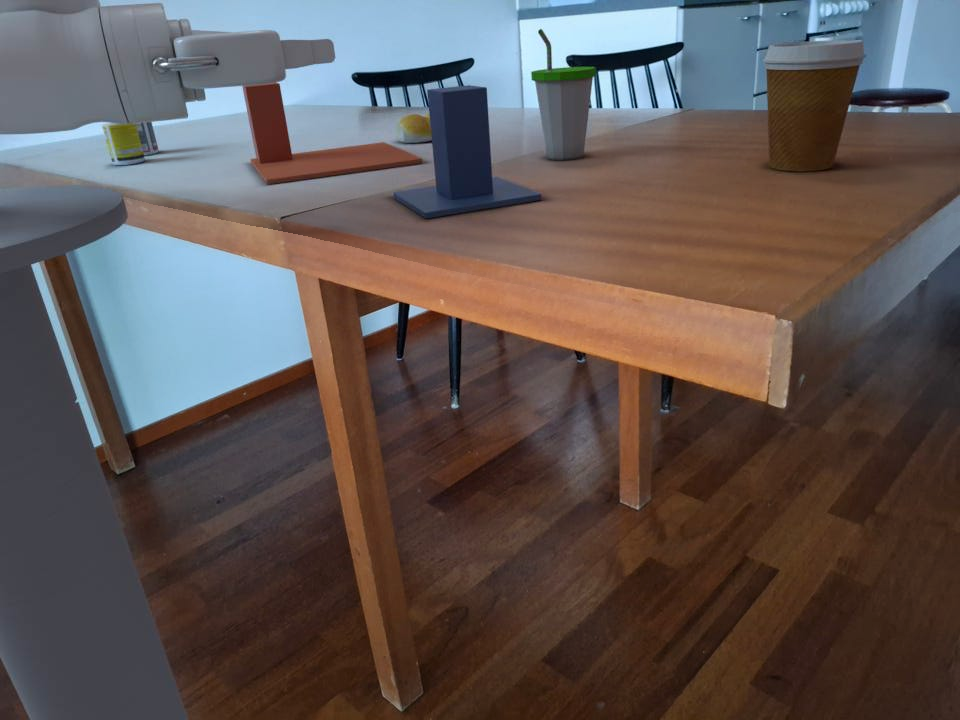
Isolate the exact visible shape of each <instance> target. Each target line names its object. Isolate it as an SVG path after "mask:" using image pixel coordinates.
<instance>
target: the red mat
mask: <svg viewBox="0 0 960 720" xmlns="http://www.w3.org/2000/svg"><path fill="white" fill-rule="evenodd" d="M292 157H293V160H286V161H278V162H270V163H262V164H260V163H259V162H258V160H257V159H256V157H255V158H250V163H251V165H252V166H253V168H254V169H255V170H256V171H257V173H258V174H259V175H260V177H261V178H262V180H263V181H264V182H265V183H266V185H274V184H281V183H289V182H296V181H304V180H310V179H317V178H318V179H319V178H325V177H334V176H341V175H346V174H347V175H348V174H353V173H363V172H367V171H368V172H369V171H374V170H375V171H376V170H385V169H391V168H396V167H398V168H399V167H404V166H405V167H406V166H412V165H418V164H423V158H422V157H419V156H416V155H414V154H412V153H410V152H408V151H405V150H404V149H400V148H398V147H396V146H394V145H391V144H389V143H387V142H384V141H382V142H374V143H366V144H359V145H349V146H342V147H335V148H329V149H328V148H327V149H319V150H311V151H303V152H295V153H294V152H293V153H292Z"/></svg>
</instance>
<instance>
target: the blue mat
mask: <svg viewBox="0 0 960 720" xmlns="http://www.w3.org/2000/svg"><path fill="white" fill-rule="evenodd" d="M492 182H493V193H492V194H486V195H479V196H473V197H467V198H460V199H454V200H451V199H449V198H447V197H445V196H443V195H442V194H440V193H438V192H437V189H436V185H432V186H427V187H426V186H425V187H420V188H412V189H406V190H400V191H393V192H392V194H393V199H395V200H397V201H398V202H399V203H401V204H403V205H404V206H406V208H409V209H411V210H412V211H413V212H415V213H416V214H418V215H419V216H421V217H422V218H424V219H425V220H427V219H432V218H433V219H434V218H439V217H440V218H441V217H447V216H451V215H459V214H464V213H470V212H476V211H477V212H478V211H481V210H488V209H489V210H490V209H495V208H500V207H506V206H514V205H519V204H526V203H530V202H538V201H542V194H541V193H539V192H537V191H534V190H532V189H530V188H526V187H524V186H523V185H519V184H516V183H513V182H512V181H509V180H507V179H504V178H501V177H498V176H492Z"/></svg>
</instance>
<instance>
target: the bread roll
mask: <svg viewBox="0 0 960 720" xmlns="http://www.w3.org/2000/svg"><path fill="white" fill-rule="evenodd" d="M395 138H396V140H398V141H399V142H401V143H404V144H417V143H428V142H432V136H431V126H430V115H429V114H426V115H421V114H418V113H413V114H408V115H406V116H403V117H402V118H400V120H399V122H397V126H396V134H395Z"/></svg>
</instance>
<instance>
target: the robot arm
mask: <svg viewBox="0 0 960 720" xmlns="http://www.w3.org/2000/svg"><path fill="white" fill-rule="evenodd" d="M165 11H166V10H165V6H164V4H163V3H162V2H154V3H153V2H152V3H139V4H138V3H136V4H133V3H132V4H120V5H103V6H101V1H100V0H0V135H32V134H34V135H35V134H44V133H45V134H48V133H59V132H67V131H68V132H69V131H74V130H78V129H79V128H82V127H84V126H87V125H91V124H95V123H96V124H97V123H102V122H110V123H117V124H137V123H145V122H152V123H154V122H155V123H156V122H164V121H166V122H167V121H174V120H175V121H176V120H183V119H188V118H189V112H188V108H187V103H195V102H204V101H206V98H207V97H206V91H205V90H206V89H221V88H232V87H242V86H246V85H258V84H269V83H279V82H280V83H281V82H282V81H285V80H286V78H287V71H286V70H291V69H292V70H294V69H299V68H304V67H308V66H314V65H321V64H331V63H333V62H335V59H336V53H335V52H336V51H335V44H334V42H333V40H331V39H329V38H320V39H319V38H317V39H281V37H280V34H279V32H277V31H276V30H272V29H258V30H244V31H243V30H242V31H218V30H217V31H215V30H200V29H199V30H198V29H192V26H191V23H190V20H189V19H188V18H179V19H168V18H167V15H166V12H165Z"/></svg>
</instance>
